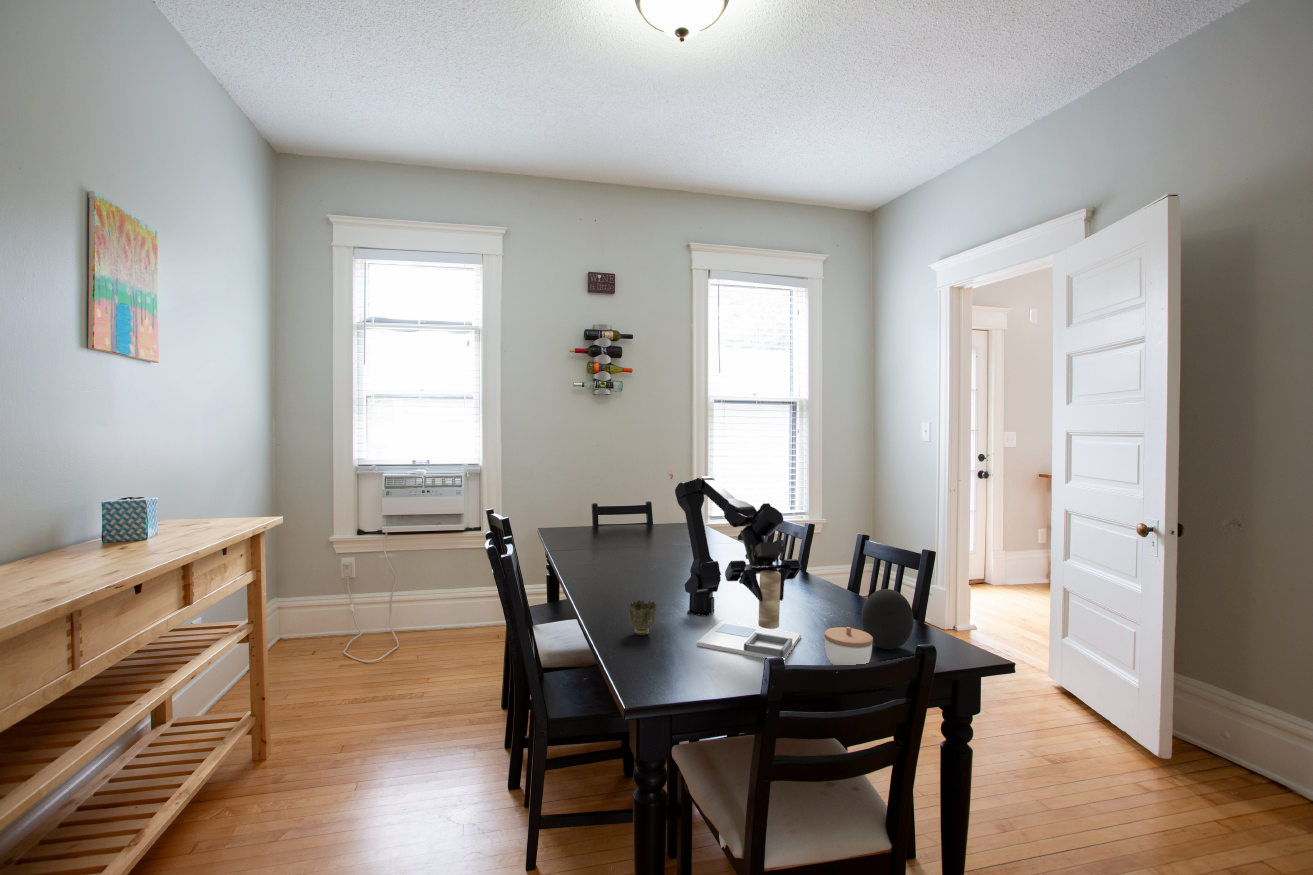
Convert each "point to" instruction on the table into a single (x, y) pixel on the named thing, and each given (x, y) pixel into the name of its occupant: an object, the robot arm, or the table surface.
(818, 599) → the table surface
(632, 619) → the cup
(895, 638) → the decorative egg
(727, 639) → the base plate
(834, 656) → the lidded jar
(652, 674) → the table surface
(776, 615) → the maple post
